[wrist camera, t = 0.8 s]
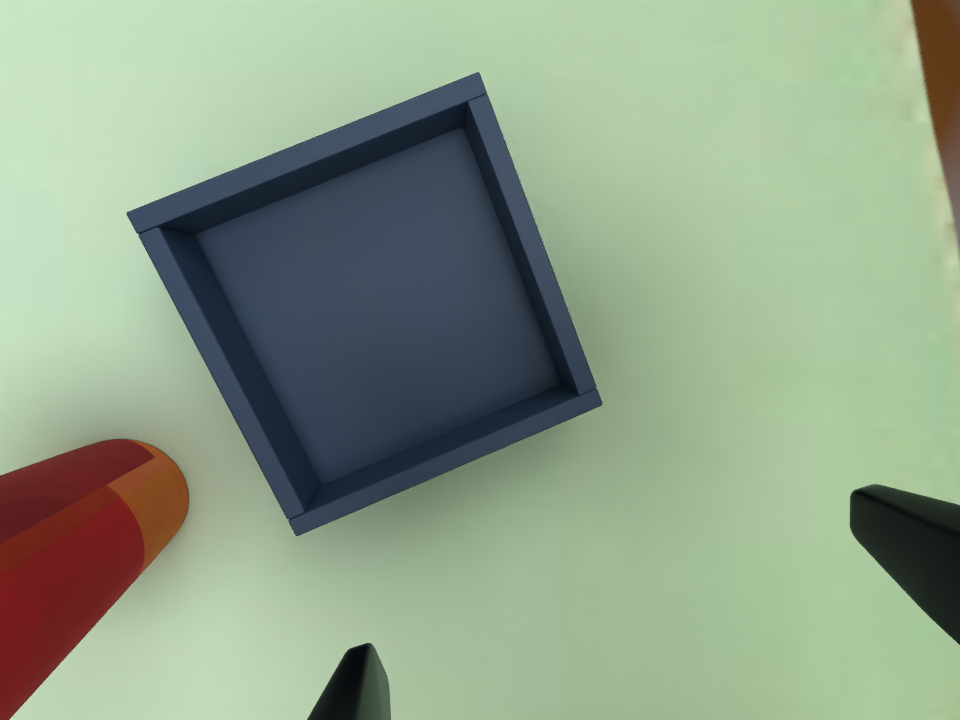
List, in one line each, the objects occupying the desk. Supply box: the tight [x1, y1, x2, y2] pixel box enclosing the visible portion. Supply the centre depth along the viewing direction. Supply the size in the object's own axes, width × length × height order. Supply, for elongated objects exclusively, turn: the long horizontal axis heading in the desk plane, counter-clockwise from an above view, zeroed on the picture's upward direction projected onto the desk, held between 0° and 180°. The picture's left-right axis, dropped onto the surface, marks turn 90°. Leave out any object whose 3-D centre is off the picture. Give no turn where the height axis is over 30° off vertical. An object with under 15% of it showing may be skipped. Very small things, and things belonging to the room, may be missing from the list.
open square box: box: [126, 72, 602, 536], centre depth 20 cm, size 14×14×4 cm
